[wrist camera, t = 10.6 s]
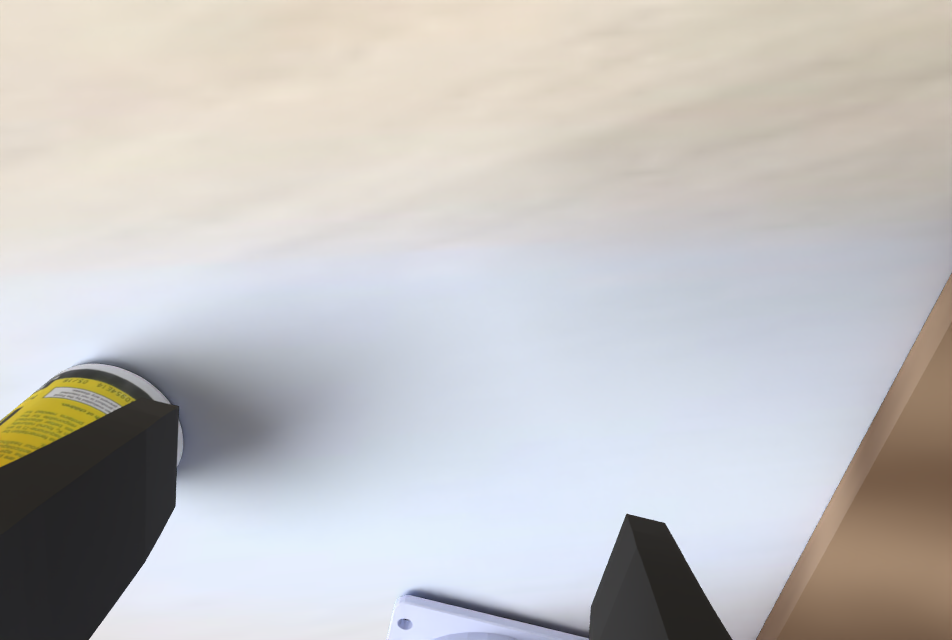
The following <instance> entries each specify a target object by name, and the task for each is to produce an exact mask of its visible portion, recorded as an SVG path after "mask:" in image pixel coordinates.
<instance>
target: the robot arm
mask: <svg viewBox="0 0 952 640" xmlns="http://www.w3.org/2000/svg"><path fill="white" fill-rule="evenodd" d="M178 421H179V406H175V405H171V404H167V403H163V402H159V401H154V400H150V399H146V398H139V399H137V400H135V401H133V402H131V403H129V404H127V405H125V406H123V407H121V408H119V409H117V410H115V411H113V412H111V413H109V414H107V415H105V416H103V417H101V418H99V419H97V420H95V421H93V422H91V423H89V424H87V425H85V426H83V427H81V428H79V429H78V430H76V431H74V432H72V433H70V434H68V435H66V436H64V437H62V438H60V439H58V440H56V441H54V442H52V443H50V444H48V445H46V446H44V447H41V448H39V449H37V450H35V451H33V452H31V453H29V454H27V455H25V456H23V457H21V458H19V459H17V460H15V461H13V462H10V463H8V464H6V465H4V466H2V467H0V640H89V639H90V637H91V636H92V635H93V633H94V632H95V631H96V629H97V628H98V626H99V625H100V624H101V622H102V621H103V620H104V618H105V617H106V616H107V614H108V613H109V611H110V610H111V609H112V607H113V606H114V605H115V603H116V602H117V600H118V599H119V598H120V596H121V595H122V593H123V592H124V591H125V589H126V588H127V587H128V585H129V584H130V582H131V581H132V580H133V578H134V577H135V575H136V574H137V573H138V571H139V570H140V568H141V567H142V565H143V564H144V563H145V561H146V559H147V557H148V556H149V554H150V552H151V550H152V549H153V547H154V545H155V543H156V542H157V540H158V538H159V536H160V534H161V533H162V531H163V529H164V527H165V525H166V523H167V521H168V519H169V518H170V516H171V514H172V512H173V510H174V508H175V504H176V476H177V449H178ZM402 618H403V619H402ZM404 619H408V620H410V621H406V620H404ZM387 640H732V638H731V637H730V635H729V634H728V632H727V630H726V629H725V627H724V625H723V624H722V622H721V620H720V619H719V617H718V616H717V614H716V612H715V611H714V609H713V607H712V606H711V604H710V602H709V600H708V599H707V597H706V595H705V594H704V592H703V590H702V588H701V587H700V585H699V583H698V581H697V579H696V578H695V576H694V574H693V572H692V571H691V569H690V567H689V565H688V563H687V562H686V560H685V558H684V556H683V554H682V553H681V551H680V549H679V547H678V545H677V544H676V542H675V540H674V538H673V536H672V535H671V533H670V531H669V529H668V528H667V526H666V524H665V523H663V522H658V521H654V520H650V519H646V518H642V517H638V516H633V515H629V514H626V517H625V519H624V522H623V524H622V527H621V530H620V532H619V535H618V537H617V540H616V543H615V545H614V548H613V551H612V553H611V556H610V558H609V561H608V564H607V566H606V569H605V571H604V574H603V577H602V579H601V582H600V584H599V587H598V590H597V592H596V595H595V598H594V600H593V603H592V605H591V614H590V630H589V638H585V637H581V636H577V635H573V634H568V633H564V632H560V631H556V630H552V629H548V628H544V627H539V626H535V625H531V624H527V623H523V622H519V621H515V620H511V619H506V618H502V617H498V616H494V615H490V614H486V613H482V612H477V611H473V610H469V609H465V608H461V607H457V606H453V605H449V604H444V603H440V602H436V601H432V600H428V599H424V598H420V597H415V596H411V595H404V596H401V597H399V598H398V599H397V600H396V602H395V605H394V609H393V613H392V618H391V622H390V627H389V631H388V636H387Z"/></svg>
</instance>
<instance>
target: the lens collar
mask: <svg viewBox="0 0 952 640" xmlns="http://www.w3.org/2000/svg"><path fill="white" fill-rule="evenodd" d="M756 640H952V274H951V275H950V277H949V279H948V281H947V283H946V285H945V287H944V288H943V290H942V292H941V294H940V296H939V298H938V300H937V302H936V303H935V305H934V307H933V309H932V311H931V313H930V315H929V317H928V318H927V320H926V322H925V324H924V326H923V328H922V330H921V332H920V333H919V335H918V337H917V339H916V341H915V343H914V345H913V347H912V348H911V350H910V352H909V354H908V356H907V358H906V360H905V362H904V363H903V365H902V367H901V369H900V371H899V373H898V375H897V377H896V378H895V380H894V382H893V384H892V386H891V388H890V390H889V392H888V393H887V395H886V397H885V399H884V401H883V403H882V405H881V407H880V408H879V410H878V412H877V414H876V416H875V418H874V420H873V421H872V423H871V425H870V427H869V429H868V431H867V433H866V435H865V436H864V438H863V440H862V442H861V444H860V446H859V448H858V450H857V451H856V453H855V455H854V457H853V459H852V461H851V463H850V465H849V466H848V468H847V470H846V472H845V474H844V476H843V478H842V480H841V481H840V483H839V485H838V487H837V489H836V491H835V493H834V495H833V496H832V498H831V500H830V502H829V504H828V506H827V508H826V510H825V511H824V513H823V515H822V517H821V519H820V521H819V523H818V525H817V526H816V528H815V530H814V532H813V534H812V536H811V538H810V539H809V541H808V543H807V545H806V547H805V549H804V551H803V553H802V554H801V556H800V558H799V560H798V562H797V564H796V566H795V568H794V569H793V571H792V573H791V575H790V577H789V579H788V581H787V583H786V584H785V586H784V588H783V590H782V592H781V594H780V596H779V598H778V599H777V601H776V603H775V605H774V607H773V609H772V611H771V613H770V614H769V616H768V618H767V620H766V622H765V624H764V626H763V628H762V629H761V631H760V633H759V635H758V637H757V639H756Z"/></svg>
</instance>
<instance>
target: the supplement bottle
mask: <svg viewBox="0 0 952 640" xmlns="http://www.w3.org/2000/svg"><path fill="white" fill-rule="evenodd" d="M139 398H146V399H150V400H154V401H159V402H163V403H167V404H170V402H169V401H168V400H167V399H166V397H165V396H164V395H163V394H162V393H161V392H160V391H159V390H158V389H157V388H156V387H154V386H153V385H152V384H151V383H149V382H148V381H146V380H145V379H143V378H142V377H140V376H138V375H136V374H134V373H132V372H130V371H127V370H124V369H122V368H118V367H115V366H110V365H105V364H82V365H77V366H73V367H71V368H68V369H66V370H64V371H62V372H60V373H59V374H57V375H56V376H54V377H53V378H52V379H50V380H49V381H48V382H47V383H45V384H44V385H43V386H42V387H41V388H39V389H38V390H37V391H36V392H34V393H33V394H32V395H31V396H30V397H29V398H27V399H26V400H25V401H24V402H23V403H21V404H20V405H19V406H18V407H17V408H15V409H14V410H13V411H12V412H10V413H9V414H8V415H7V416H5V417H4V418H3V419H2V420H1V421H0V467H2V466H4V465H6V464H8V463H10V462H13V461H15V460H17V459H19V458H21V457H23V456H25V455H27V454H29V453H31V452H33V451H35V450H37V449H39V448H41V447H44V446H46V445H48V444H50V443H52V442H54V441H56V440H58V439H60V438H62V437H64V436H66V435H68V434H70V433H72V432H74V431H76V430H78V429H79V428H81V427H83V426H85V425H87V424H89V423H91V422H93V421H95V420H97V419H99V418H101V417H103V416H105V415H107V414H109V413H111V412H113V411H115V410H117V409H119V408H121V407H123V406H125V405H127V404H129V403H131V402H133V401H135V400H137V399H139ZM182 452H183V434H182V428H181V425H180V421H178V449H177V466H178V464H179V462H180V459H181V456H182Z"/></svg>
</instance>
